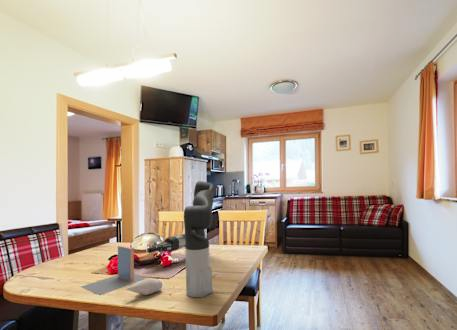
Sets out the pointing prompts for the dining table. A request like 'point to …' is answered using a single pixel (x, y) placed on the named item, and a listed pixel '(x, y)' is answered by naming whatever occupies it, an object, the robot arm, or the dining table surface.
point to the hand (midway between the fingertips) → (148, 250)
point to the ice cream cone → (146, 286)
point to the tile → (126, 263)
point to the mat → (111, 284)
